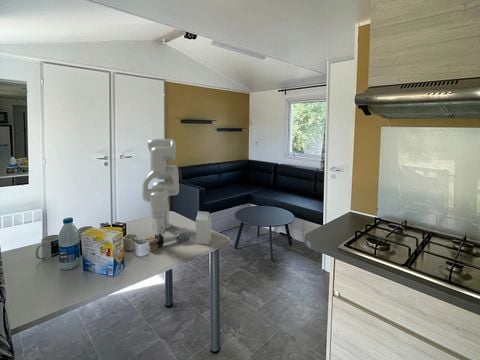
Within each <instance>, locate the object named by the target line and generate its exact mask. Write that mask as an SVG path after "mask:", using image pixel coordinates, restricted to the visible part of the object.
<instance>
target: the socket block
mask: <svg viewBox="0 0 480 360" xmlns="http://www.w3.org/2000/svg"><path fill="white" fill-rule="evenodd" d="M144 238H145V241H146V240H148V241H149V246H150V251H149V252H153V251H154V252H155V251H157V250H158V247H157V240H156V239H155V236H153V235H151V236H150V235H149V236H146V237H144Z"/></svg>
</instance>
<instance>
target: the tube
mask: <svg viewBox="0 0 480 360" xmlns="http://www.w3.org/2000/svg"><path fill="white" fill-rule="evenodd" d="M159 236H161V235H159ZM156 240H157V248H161V247H164V244H167V243H170V242H175V240H178V235H177V234H176V235H175V234H172V235H169V236H164V238H163V242H164V244H163V245H160V246H158V235H156Z"/></svg>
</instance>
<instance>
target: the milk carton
mask: <svg viewBox="0 0 480 360" xmlns="http://www.w3.org/2000/svg"><path fill="white" fill-rule="evenodd" d="M211 240H212V216H211V215H210V211H200V210H199V211H197V215H196V218H195V243H196V244H198V245H199V244H201V245H208V244H209V243H210V242H211Z"/></svg>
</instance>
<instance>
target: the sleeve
mask: <svg viewBox="0 0 480 360" xmlns="http://www.w3.org/2000/svg"><path fill="white" fill-rule="evenodd" d="M176 234H177V235H178V240H174V242H176V243H178V244H182V243H185V242H189V241H190V231H189V230H187V229H186V228H184V229H183V228H182V229H178V230H175V231H174V235H176Z"/></svg>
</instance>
